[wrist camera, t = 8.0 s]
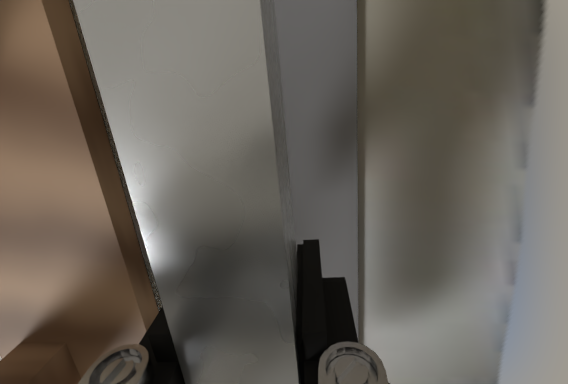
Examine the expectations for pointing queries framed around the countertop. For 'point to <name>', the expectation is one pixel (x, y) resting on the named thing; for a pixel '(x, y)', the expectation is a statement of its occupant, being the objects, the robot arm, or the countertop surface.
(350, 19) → the mat
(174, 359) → the robot arm
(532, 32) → the countertop surface
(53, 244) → the rack
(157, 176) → the rail
